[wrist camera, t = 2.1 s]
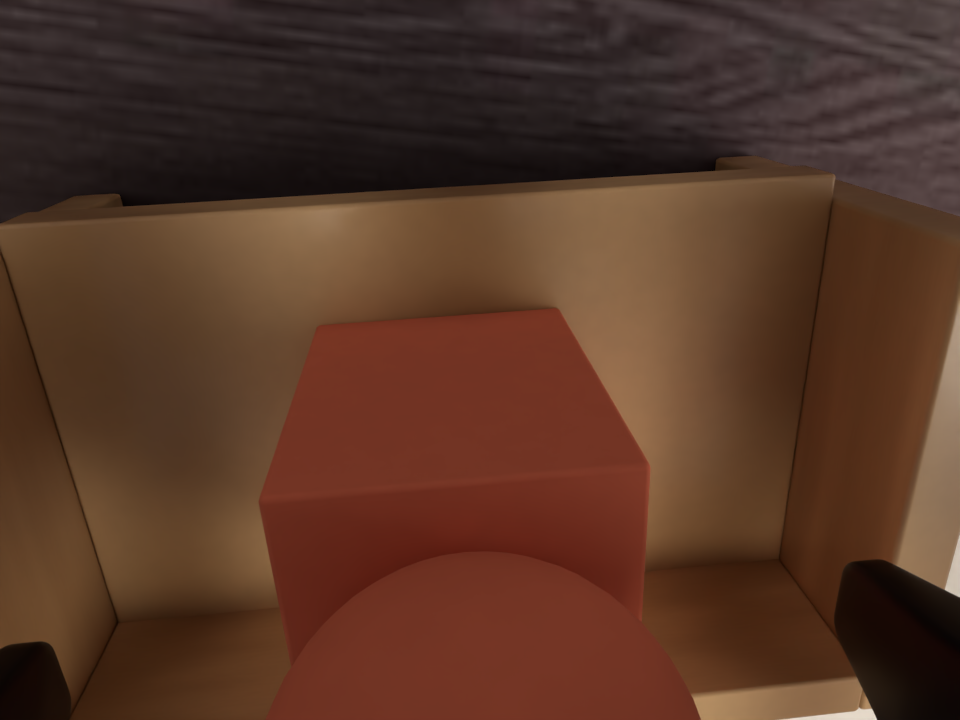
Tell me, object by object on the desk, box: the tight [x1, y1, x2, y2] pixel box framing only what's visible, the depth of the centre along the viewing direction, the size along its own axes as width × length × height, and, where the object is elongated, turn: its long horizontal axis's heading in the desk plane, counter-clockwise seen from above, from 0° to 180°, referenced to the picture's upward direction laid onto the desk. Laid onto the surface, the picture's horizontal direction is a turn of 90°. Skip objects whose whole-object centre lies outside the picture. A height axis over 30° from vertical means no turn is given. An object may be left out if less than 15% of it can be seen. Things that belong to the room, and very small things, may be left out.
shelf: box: [0, 156, 960, 720], centre depth 14 cm, size 15×8×8 cm, turn 92°
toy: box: [258, 308, 701, 720], centre depth 9 cm, size 4×4×9 cm
